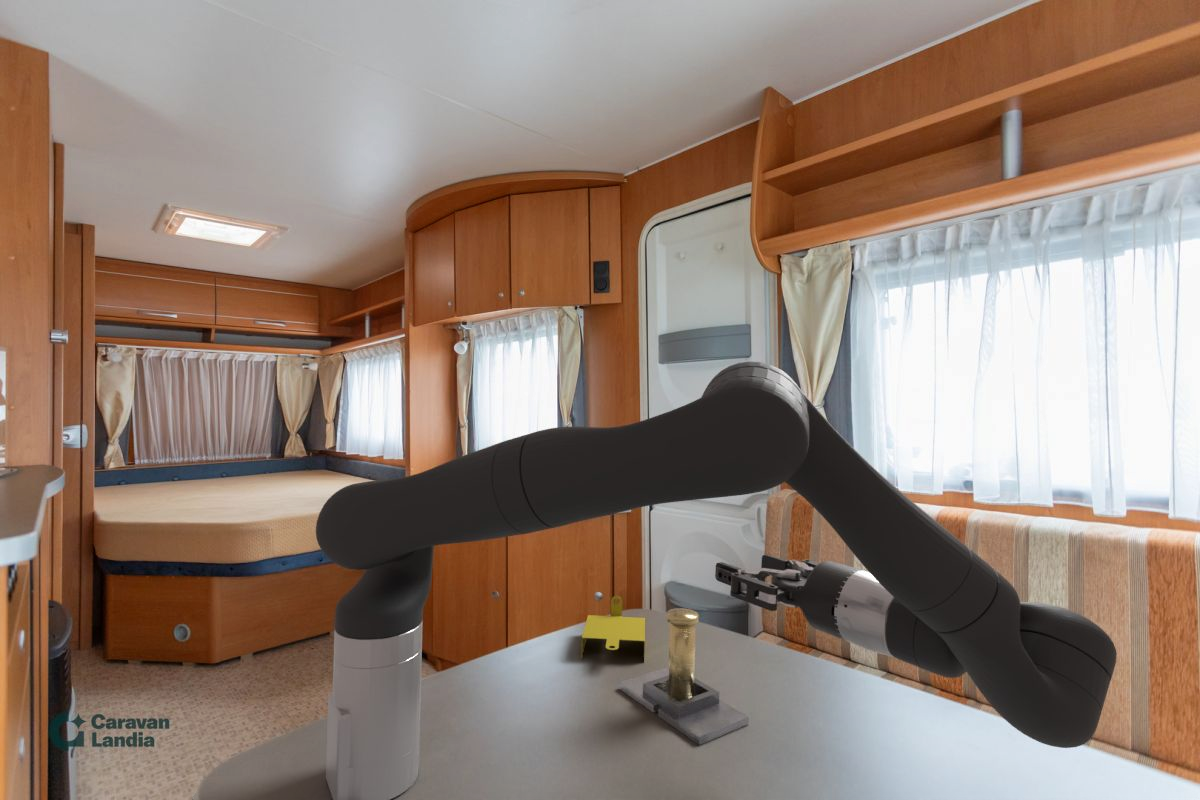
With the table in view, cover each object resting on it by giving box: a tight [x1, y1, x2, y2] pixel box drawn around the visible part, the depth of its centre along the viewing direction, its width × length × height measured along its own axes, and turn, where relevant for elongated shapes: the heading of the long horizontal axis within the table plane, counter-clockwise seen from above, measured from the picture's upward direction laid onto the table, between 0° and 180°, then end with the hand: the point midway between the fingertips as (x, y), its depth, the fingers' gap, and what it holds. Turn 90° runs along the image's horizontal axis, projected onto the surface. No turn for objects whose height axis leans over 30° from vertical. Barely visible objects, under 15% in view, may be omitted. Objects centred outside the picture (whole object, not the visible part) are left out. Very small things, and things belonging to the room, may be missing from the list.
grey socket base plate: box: [618, 667, 749, 746], centre depth 82 cm, size 9×17×2 cm, turn 34°
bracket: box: [580, 595, 646, 660], centre depth 100 cm, size 16×8×15 cm
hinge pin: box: [666, 607, 699, 702], centre depth 82 cm, size 4×4×12 cm
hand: (740, 566), depth 74 cm, fingers open, 8 cm apart
